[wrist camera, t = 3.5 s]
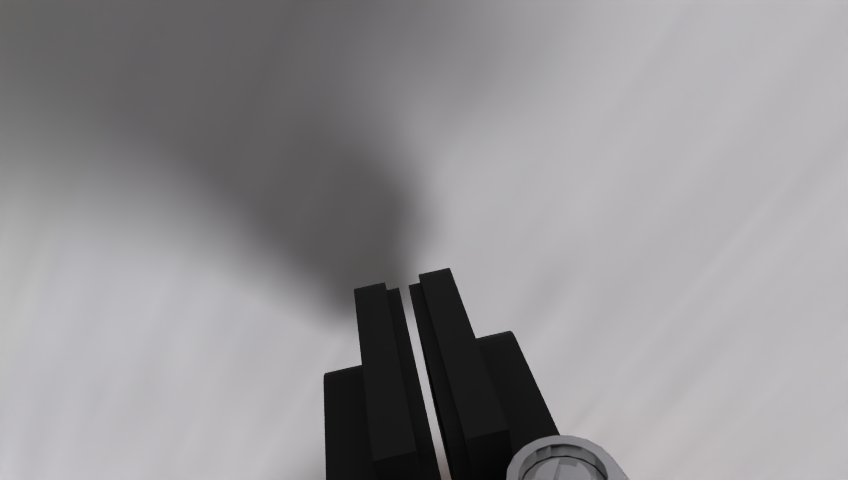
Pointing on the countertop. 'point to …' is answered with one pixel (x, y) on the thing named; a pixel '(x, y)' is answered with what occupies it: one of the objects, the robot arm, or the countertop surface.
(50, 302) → the countertop surface
